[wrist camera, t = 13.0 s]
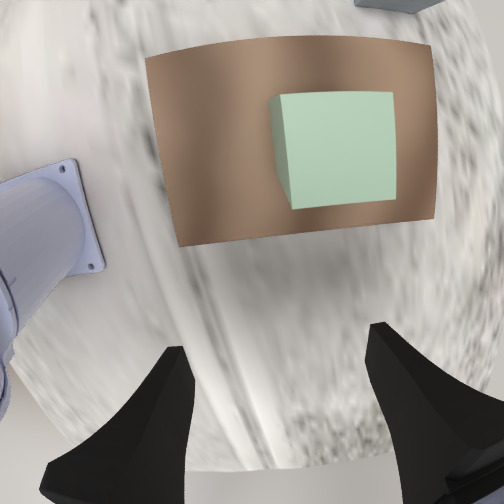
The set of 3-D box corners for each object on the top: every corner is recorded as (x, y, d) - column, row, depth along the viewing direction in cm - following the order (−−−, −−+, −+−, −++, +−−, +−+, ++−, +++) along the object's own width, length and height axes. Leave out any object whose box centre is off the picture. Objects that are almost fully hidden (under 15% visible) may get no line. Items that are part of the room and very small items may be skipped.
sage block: (276, 173, 16) (292, 209, 11) (267, 99, 14) (280, 94, 9) (348, 167, 16) (396, 199, 11) (343, 95, 14) (392, 92, 9)
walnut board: (183, 236, 19) (179, 247, 18) (152, 61, 15) (144, 58, 13) (423, 211, 19) (433, 218, 17) (418, 48, 14) (430, 45, 13)
